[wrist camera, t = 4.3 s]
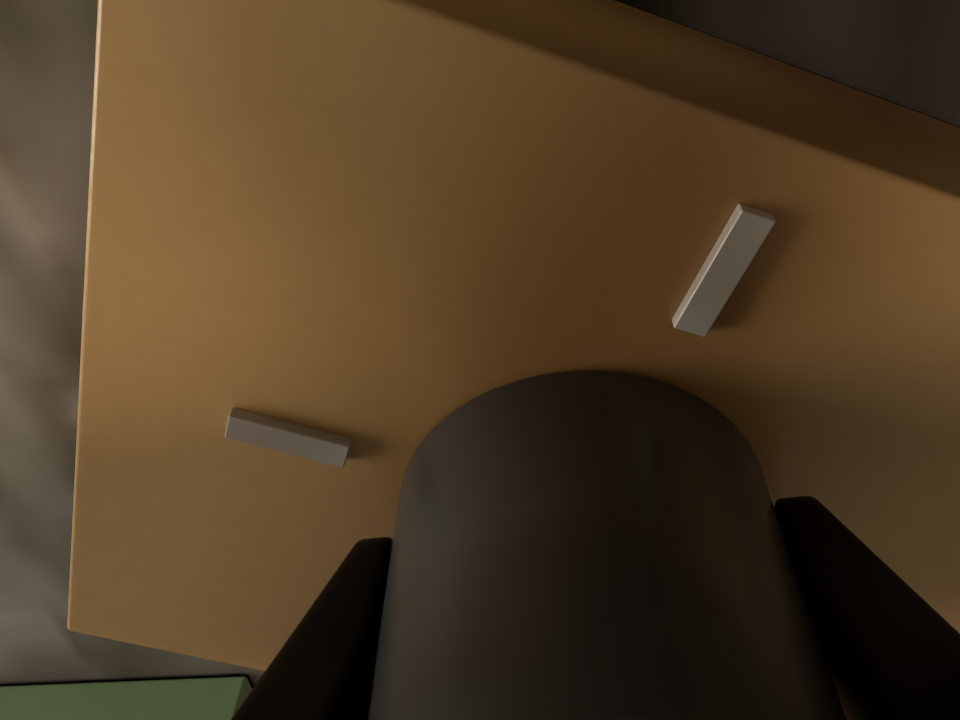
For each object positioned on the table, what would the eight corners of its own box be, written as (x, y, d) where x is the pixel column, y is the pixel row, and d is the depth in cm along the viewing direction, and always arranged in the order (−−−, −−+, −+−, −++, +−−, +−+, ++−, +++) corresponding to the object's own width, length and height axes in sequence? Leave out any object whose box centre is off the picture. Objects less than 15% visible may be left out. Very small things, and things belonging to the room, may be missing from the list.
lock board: (1142, 193, 11) (1336, 335, 8) (751, 630, 17) (795, 791, 14) (212, -151, 9) (91, -103, 6) (138, 483, 15) (60, 641, 12)
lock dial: (805, 375, 9) (992, 781, 5) (722, 625, 12) (813, 1004, 8) (393, 360, 9) (320, 754, 5) (405, 613, 12) (361, 985, 8)
